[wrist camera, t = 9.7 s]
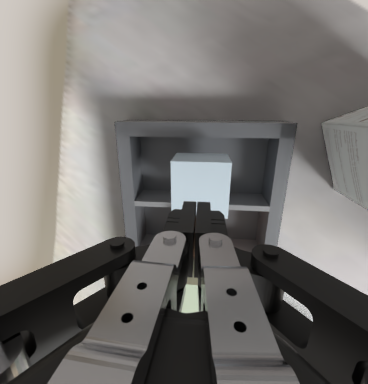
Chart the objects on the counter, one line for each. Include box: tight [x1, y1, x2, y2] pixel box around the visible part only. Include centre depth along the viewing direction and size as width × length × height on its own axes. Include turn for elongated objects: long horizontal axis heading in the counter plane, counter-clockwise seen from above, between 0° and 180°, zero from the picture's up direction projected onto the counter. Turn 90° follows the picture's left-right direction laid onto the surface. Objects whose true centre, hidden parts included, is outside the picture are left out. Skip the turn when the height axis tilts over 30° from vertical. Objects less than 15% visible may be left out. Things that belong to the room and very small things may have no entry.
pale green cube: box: [181, 264, 199, 313], centre depth 22 cm, size 4×4×4 cm
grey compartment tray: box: [115, 120, 297, 252], centre depth 25 cm, size 15×26×4 cm, turn 0°
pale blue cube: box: [171, 153, 232, 219], centre depth 19 cm, size 4×4×4 cm
